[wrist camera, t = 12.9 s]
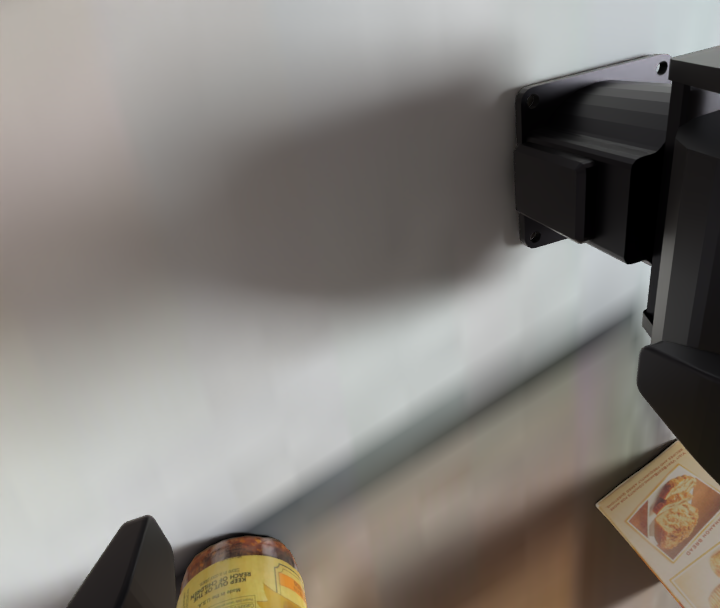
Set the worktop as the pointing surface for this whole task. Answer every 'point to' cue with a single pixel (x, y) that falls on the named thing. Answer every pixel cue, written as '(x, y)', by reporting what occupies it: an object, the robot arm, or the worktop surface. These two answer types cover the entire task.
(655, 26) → the worktop surface
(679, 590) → the coffeecake box
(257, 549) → the sauce bottle
